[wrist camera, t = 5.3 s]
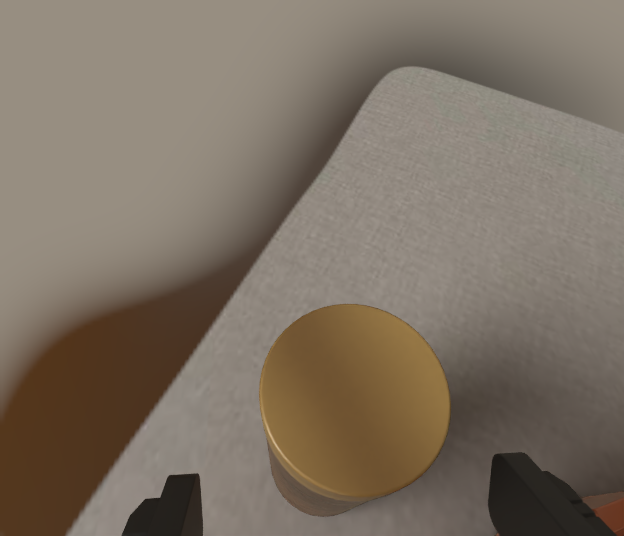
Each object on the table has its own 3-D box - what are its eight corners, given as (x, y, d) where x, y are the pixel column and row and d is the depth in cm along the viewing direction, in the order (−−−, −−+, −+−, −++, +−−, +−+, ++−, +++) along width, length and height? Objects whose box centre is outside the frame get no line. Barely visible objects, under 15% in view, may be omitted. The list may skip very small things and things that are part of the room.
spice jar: (333, 383, 20) (370, 274, 12) (396, 472, 18) (492, 415, 10) (249, 441, 19) (223, 361, 10) (308, 544, 17) (335, 549, 8)
